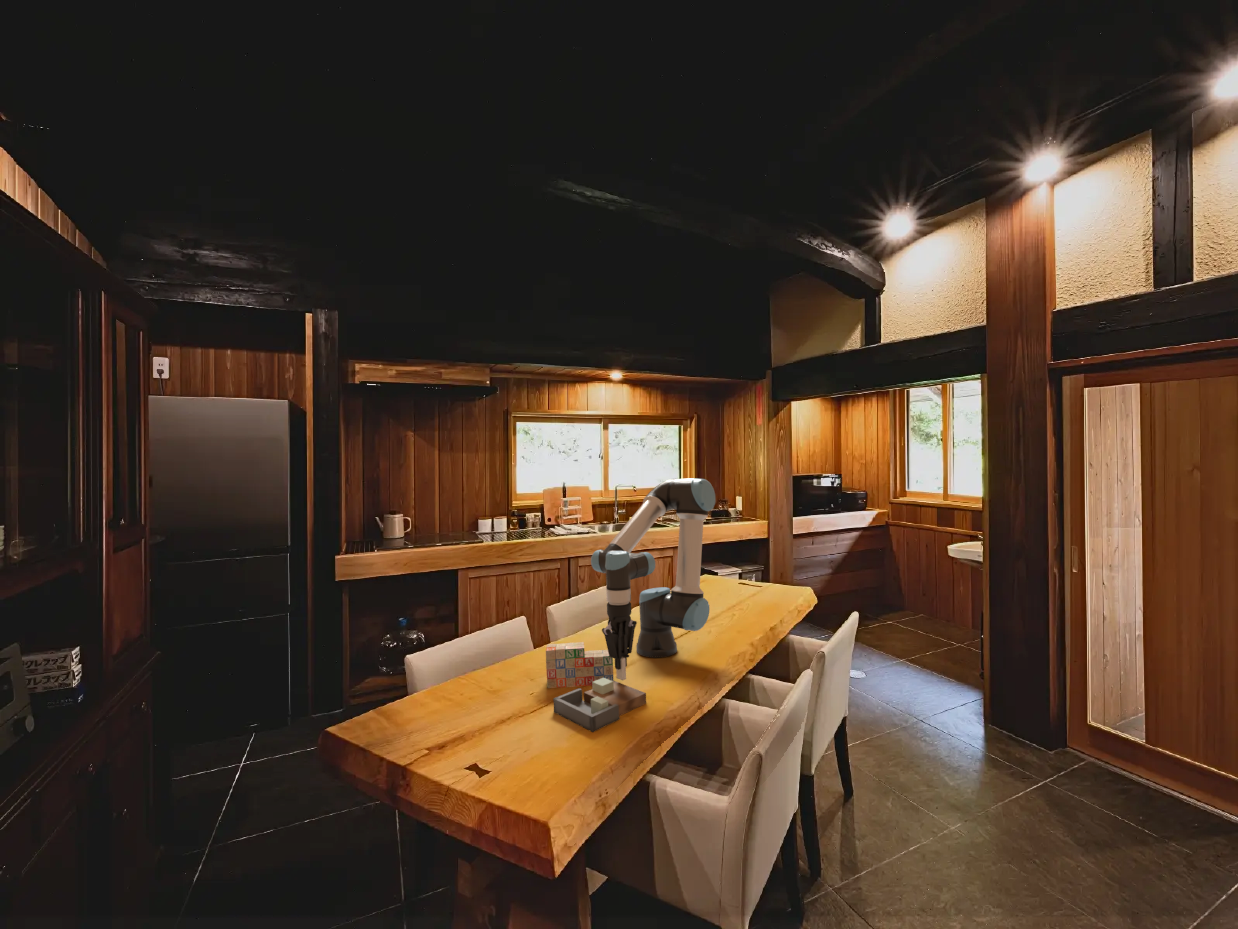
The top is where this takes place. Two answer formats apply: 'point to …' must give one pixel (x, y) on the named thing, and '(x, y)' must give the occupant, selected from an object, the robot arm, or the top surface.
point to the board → (620, 697)
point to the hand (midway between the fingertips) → (621, 678)
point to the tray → (584, 711)
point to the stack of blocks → (576, 665)
